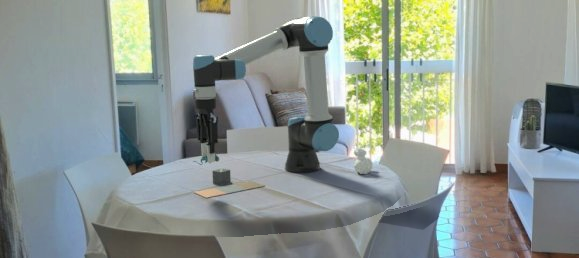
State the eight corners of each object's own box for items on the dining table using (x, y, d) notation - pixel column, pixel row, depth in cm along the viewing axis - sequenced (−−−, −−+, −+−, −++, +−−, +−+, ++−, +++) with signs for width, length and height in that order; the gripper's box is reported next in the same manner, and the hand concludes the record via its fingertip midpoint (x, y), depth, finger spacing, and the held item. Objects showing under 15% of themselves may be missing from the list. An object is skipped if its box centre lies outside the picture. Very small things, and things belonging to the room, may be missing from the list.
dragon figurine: (209, 163, 203) (221, 151, 208) (192, 155, 205) (205, 143, 210) (208, 176, 207) (220, 164, 213) (191, 168, 209) (204, 156, 215)
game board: (251, 181, 227) (251, 180, 227) (264, 186, 219) (264, 185, 219) (193, 192, 213) (193, 191, 213) (206, 198, 205) (206, 197, 205)
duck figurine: (368, 174, 244) (354, 152, 246) (381, 165, 240) (366, 143, 242) (355, 180, 234) (340, 157, 237) (368, 171, 230) (353, 148, 232)
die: (221, 180, 231) (221, 168, 230) (230, 182, 228) (230, 169, 227) (213, 182, 227) (212, 170, 226) (221, 184, 224) (221, 172, 223)
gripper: (185, 97, 210) (189, 159, 214) (207, 100, 197) (210, 166, 200) (203, 95, 215) (206, 156, 218) (226, 98, 201) (228, 163, 205)
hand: (208, 160), depth 209 cm, fingers closed on dragon figurine, 4 cm apart
